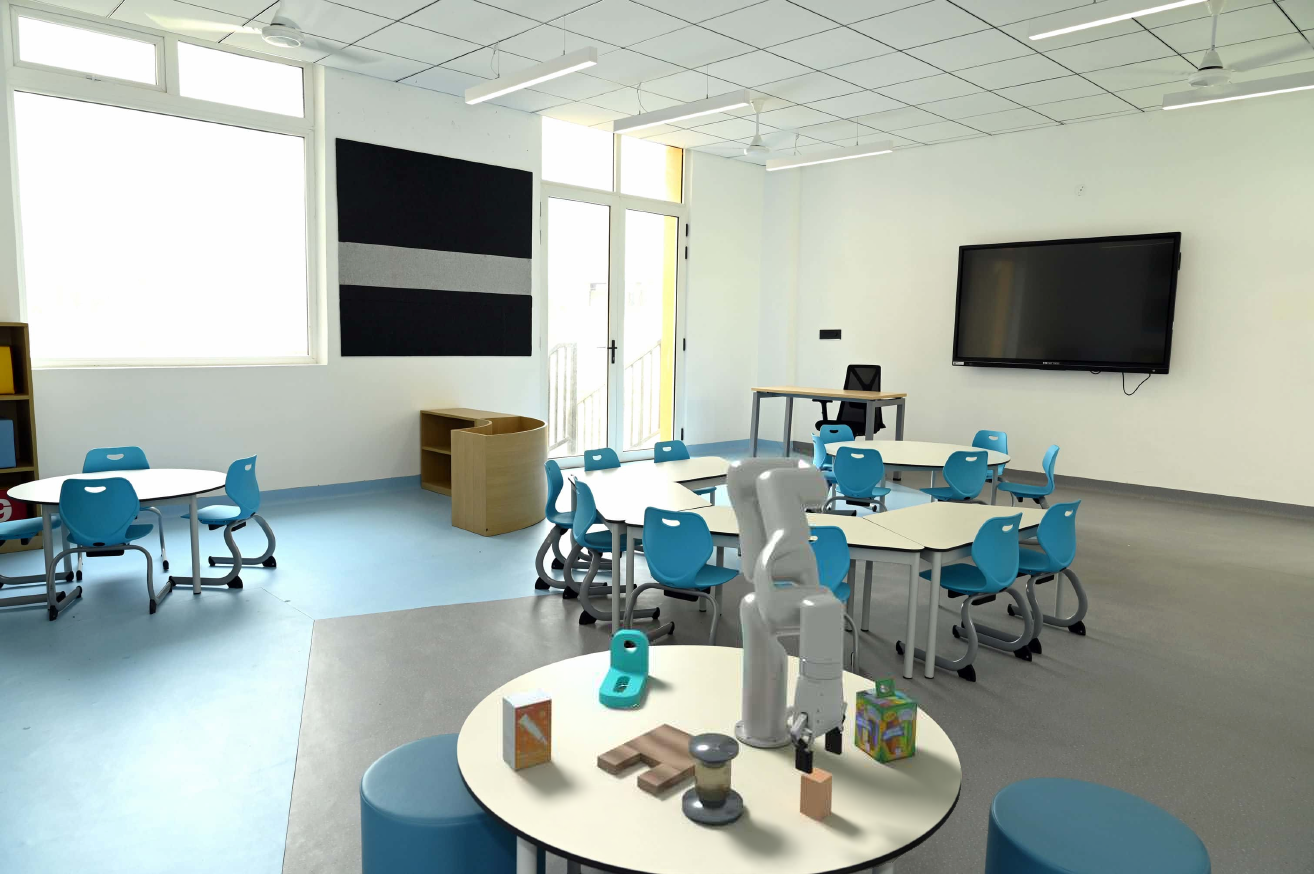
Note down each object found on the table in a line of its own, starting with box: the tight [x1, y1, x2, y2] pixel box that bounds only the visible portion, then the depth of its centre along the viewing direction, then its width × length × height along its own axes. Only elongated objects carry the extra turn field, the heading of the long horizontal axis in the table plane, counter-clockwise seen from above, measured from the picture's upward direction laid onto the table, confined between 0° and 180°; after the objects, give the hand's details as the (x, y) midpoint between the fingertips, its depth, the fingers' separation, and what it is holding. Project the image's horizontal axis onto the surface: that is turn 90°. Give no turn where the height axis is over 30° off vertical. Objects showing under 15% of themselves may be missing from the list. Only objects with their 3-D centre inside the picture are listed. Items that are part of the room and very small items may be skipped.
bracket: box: [598, 629, 650, 708], centre depth 197 cm, size 20×9×12 cm, turn 172°
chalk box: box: [853, 677, 918, 763], centre depth 168 cm, size 9×9×15 cm
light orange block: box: [799, 766, 833, 822], centre depth 146 cm, size 4×4×7 cm
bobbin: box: [681, 732, 744, 827], centre depth 146 cm, size 11×11×12 cm
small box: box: [502, 688, 553, 771], centre depth 163 cm, size 8×6×13 cm
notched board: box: [596, 723, 696, 797], centre depth 163 cm, size 20×16×2 cm
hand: (818, 761), depth 144 cm, fingers open, 9 cm apart
